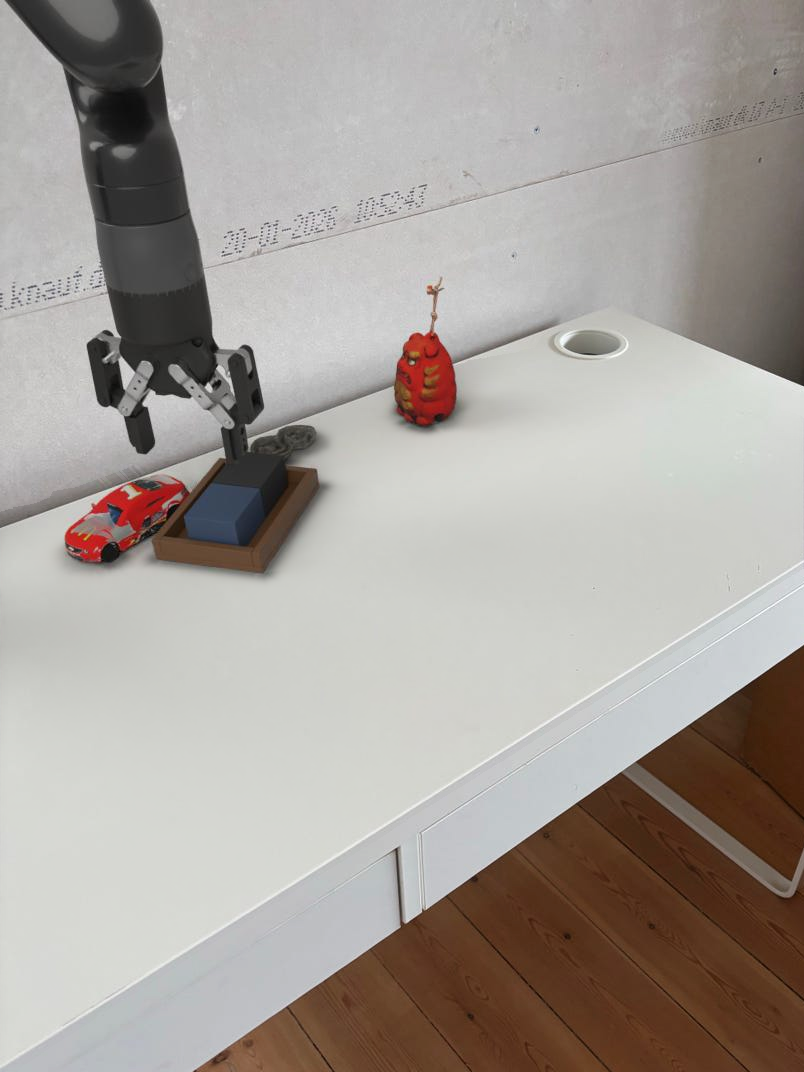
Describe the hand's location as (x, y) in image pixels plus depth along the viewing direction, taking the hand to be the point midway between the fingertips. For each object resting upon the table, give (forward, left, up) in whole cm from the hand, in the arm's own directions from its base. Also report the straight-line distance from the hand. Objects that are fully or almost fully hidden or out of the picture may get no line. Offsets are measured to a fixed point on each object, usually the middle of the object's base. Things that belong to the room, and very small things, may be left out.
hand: (190, 455), depth 89 cm
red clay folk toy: (+13, +30, -10) cm, 34 cm away
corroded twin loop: (0, +19, -10) cm, 21 cm away
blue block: (+1, +2, -9) cm, 9 cm away
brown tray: (+1, +5, -10) cm, 11 cm away
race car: (-9, +1, -10) cm, 13 cm away
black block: (+1, +8, -9) cm, 12 cm away
